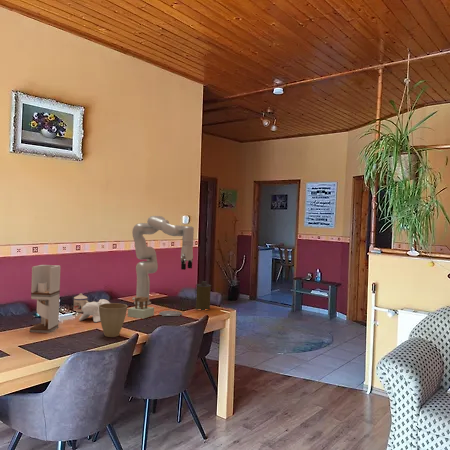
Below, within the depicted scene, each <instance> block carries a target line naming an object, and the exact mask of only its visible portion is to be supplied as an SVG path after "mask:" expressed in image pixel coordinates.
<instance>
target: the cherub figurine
mask: <svg viewBox="0 0 450 450" xmlns="http://www.w3.org/2000/svg"><path fill="white" fill-rule="evenodd" d="M107 303H111V302H110V301H109V300H107V299H104V298H102V299H101V298H100V299H99V300H98V301H91V302H90V301H89V303H86V304H85V305H84V306H83V308H82V311H83V312H82V314H81V315H80V317H79V318H78V321H80V322H81V321H83V320H86V319H89V317H90V316H92V320H93V322H94V323H98V322H99V323H101V320H100V314H99V305H101V304H107Z"/></svg>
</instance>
